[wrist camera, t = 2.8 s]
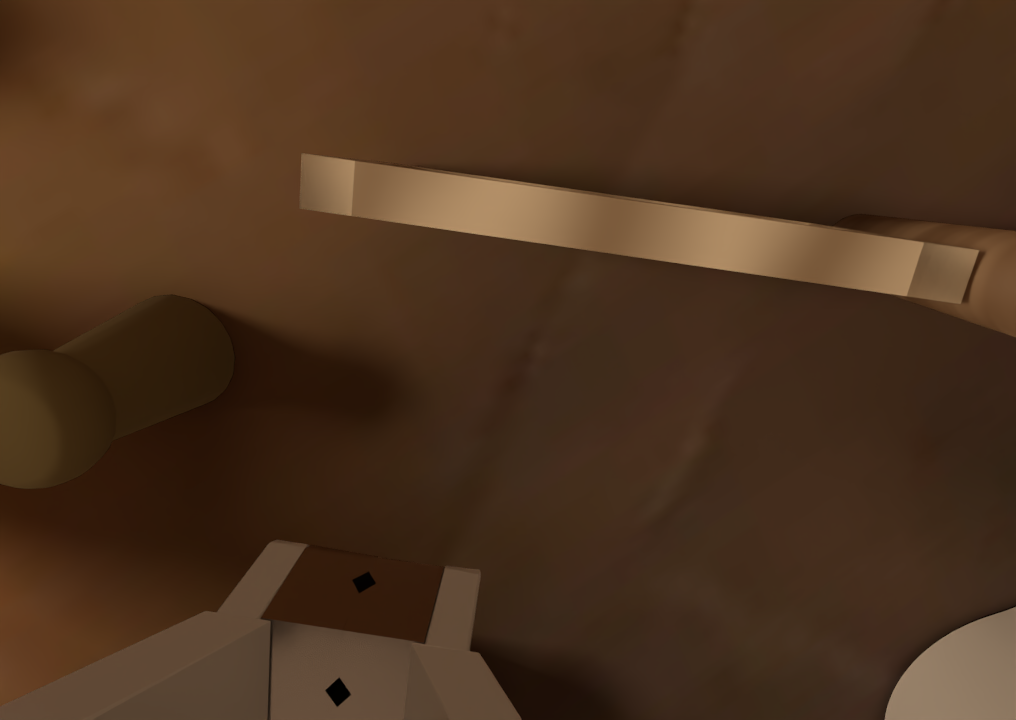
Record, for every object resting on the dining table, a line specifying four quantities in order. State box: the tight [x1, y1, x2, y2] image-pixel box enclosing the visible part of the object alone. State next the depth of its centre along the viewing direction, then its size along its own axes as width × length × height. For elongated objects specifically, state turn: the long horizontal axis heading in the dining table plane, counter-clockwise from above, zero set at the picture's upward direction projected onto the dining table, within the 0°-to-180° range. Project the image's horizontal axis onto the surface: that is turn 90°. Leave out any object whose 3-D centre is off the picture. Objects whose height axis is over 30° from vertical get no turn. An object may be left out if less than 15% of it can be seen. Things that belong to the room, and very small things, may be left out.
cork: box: [0, 295, 235, 489], centre depth 27 cm, size 6×6×11 cm
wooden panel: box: [300, 153, 979, 304], centre depth 23 cm, size 20×2×10 cm, turn 82°
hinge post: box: [834, 214, 1016, 337], centre depth 22 cm, size 3×3×13 cm
